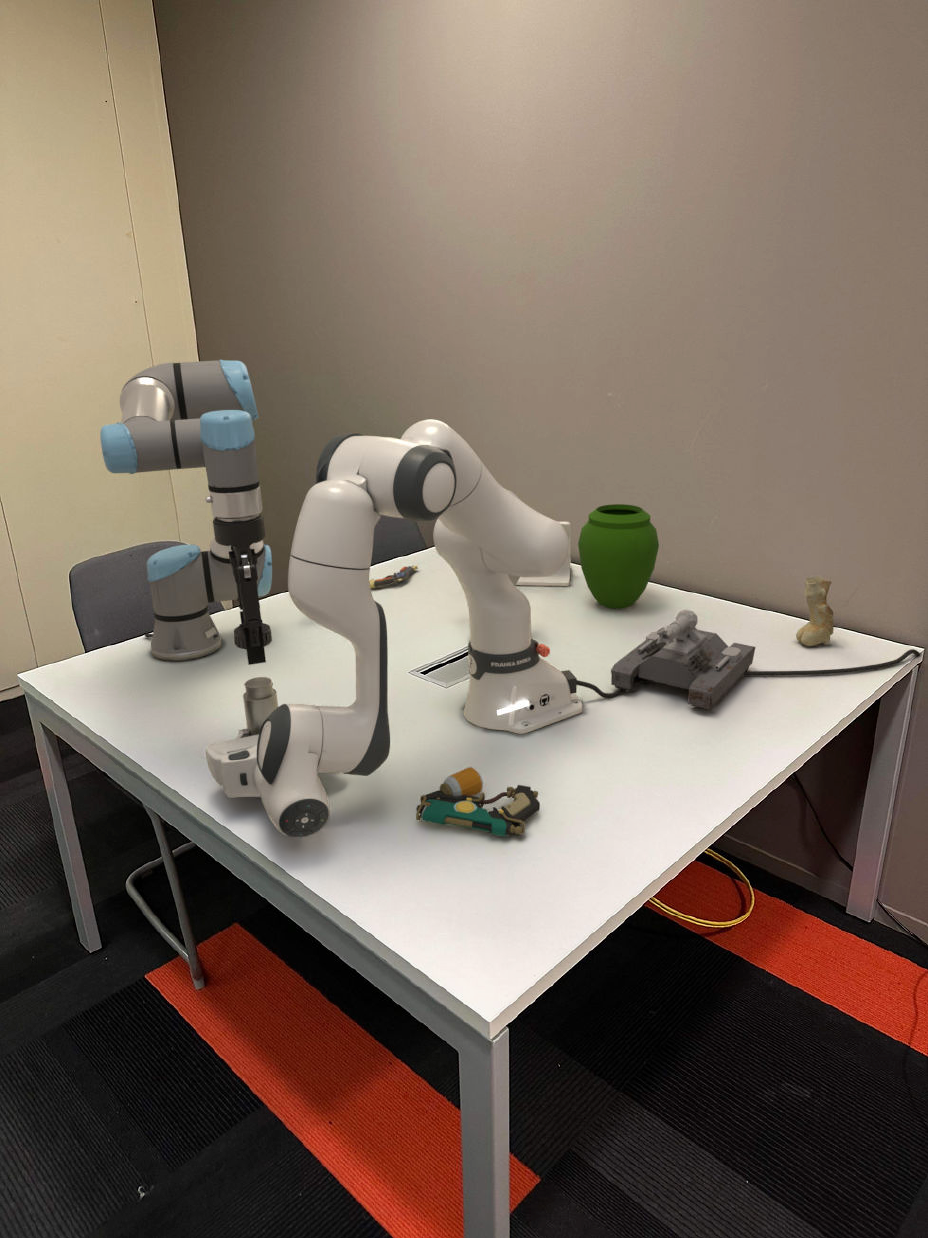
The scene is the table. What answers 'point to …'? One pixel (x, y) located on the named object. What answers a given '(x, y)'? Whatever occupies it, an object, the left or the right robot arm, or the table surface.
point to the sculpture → (817, 613)
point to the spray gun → (477, 805)
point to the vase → (618, 554)
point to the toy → (685, 662)
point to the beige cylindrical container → (259, 702)
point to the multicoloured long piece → (393, 577)
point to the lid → (240, 636)
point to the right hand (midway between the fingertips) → (263, 728)
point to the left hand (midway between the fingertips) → (254, 654)
